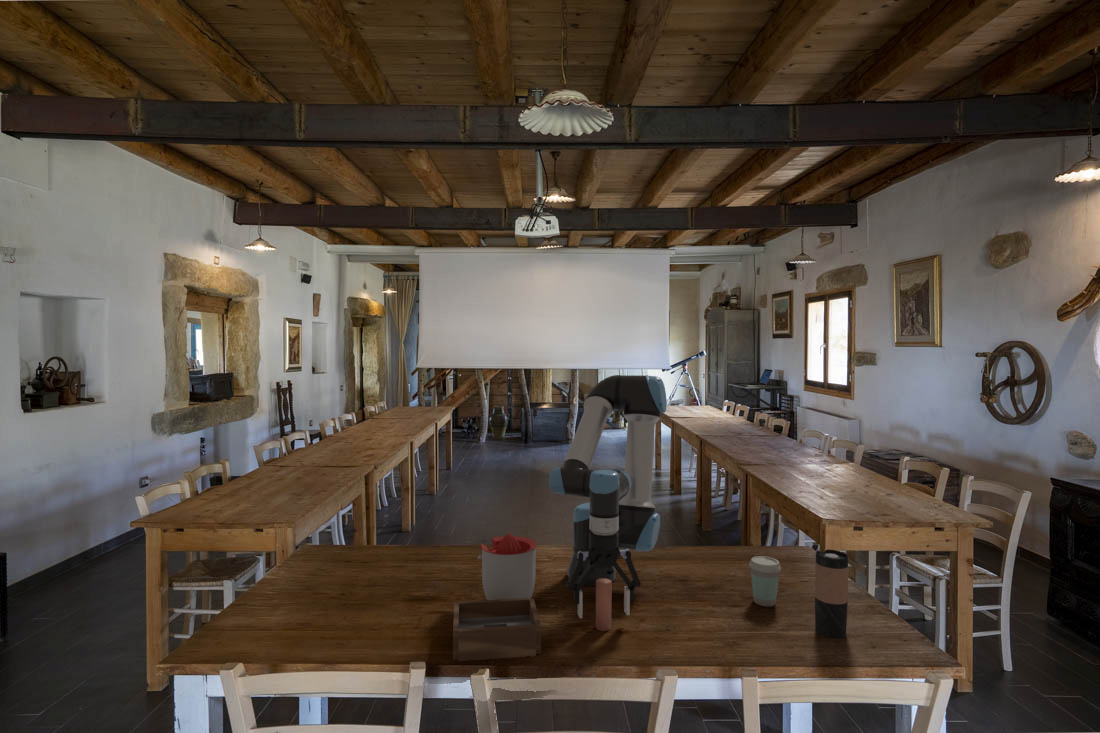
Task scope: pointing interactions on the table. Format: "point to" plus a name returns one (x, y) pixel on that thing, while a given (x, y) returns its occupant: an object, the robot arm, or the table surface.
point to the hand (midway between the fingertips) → (603, 614)
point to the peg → (603, 604)
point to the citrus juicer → (508, 568)
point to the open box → (496, 629)
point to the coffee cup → (764, 579)
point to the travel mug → (831, 593)
